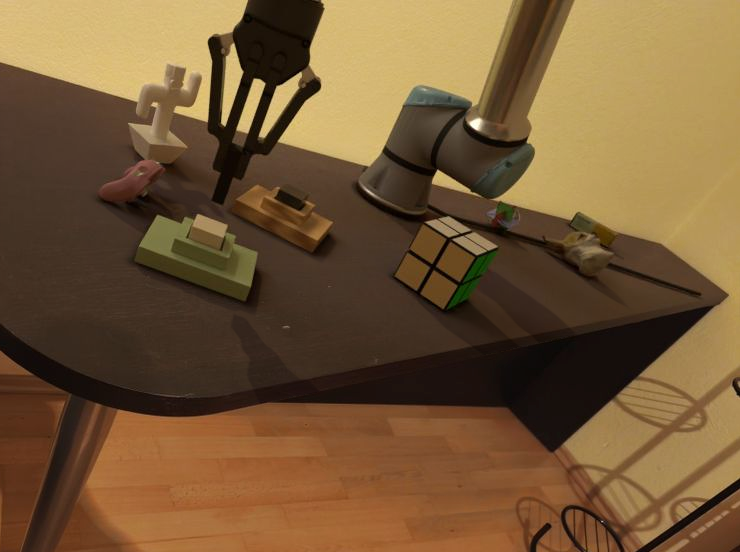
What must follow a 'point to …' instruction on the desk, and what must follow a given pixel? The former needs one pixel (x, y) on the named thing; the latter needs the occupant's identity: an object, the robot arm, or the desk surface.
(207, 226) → the white key
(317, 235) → the wooden socket base
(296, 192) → the black key
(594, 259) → the ceramic sculpture
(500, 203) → the geometric puzzle
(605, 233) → the medication box
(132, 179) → the pink rounded piece
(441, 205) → the desk surface
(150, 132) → the figurine
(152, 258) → the green stepped button base
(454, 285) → the puzzle cube
